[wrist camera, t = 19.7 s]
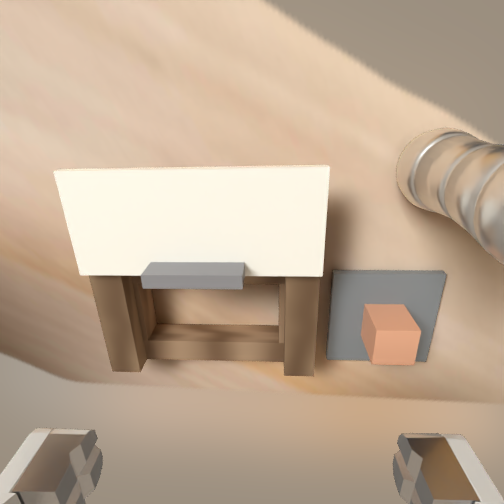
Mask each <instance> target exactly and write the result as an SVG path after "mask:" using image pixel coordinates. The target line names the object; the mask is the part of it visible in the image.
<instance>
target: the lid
mask: <svg viewBox="0 0 504 504" xmlns="http://www.w3.org/2000/svg"><path fill="white" fill-rule="evenodd" d="M53 172H54V176H55V179H56V183H57V187H58V191H59V195H60V199H61V203H62V206H63V210H64V214H65V218H66V222H67V226H68V230H69V233H70V237H71V241H72V245H73V249H74V253H75V257H76V260H77V264H78V268H79V272H80V275H120V276H141V281H142V287H143V289H243V285H244V279H245V276H310V277H323V263H324V248H325V233H326V218H327V203H328V188H329V174H330V167H329V166H328V165H289V166H225V167H161V168H98V169H60V170H56V171H53Z"/></svg>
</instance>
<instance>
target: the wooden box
mask: <svg viewBox="0 0 504 504" xmlns="http://www.w3.org/2000/svg"><path fill="white" fill-rule="evenodd" d="M89 278H90V282H91V286H92V290H93V294H94V298H95V302H96V306H97V310H98V314H99V318H100V322H101V327H102V331H103V335H104V339H105V343H106V347H107V351H108V355H109V359H110V363H111V367H112V371H116V372H141V370H142V368H143V366H144V364H145V362H146V360H147V359H177V360H224V361H270V362H284V376H314V367H315V352H316V336H317V320H318V305H319V289H320V277H310V276H245V279H244V284H279V326H271V325H202V324H157V321H156V315H155V309H154V303H153V297H152V291H151V289H143V287H142V281H141V276H120V275H89Z"/></svg>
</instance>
